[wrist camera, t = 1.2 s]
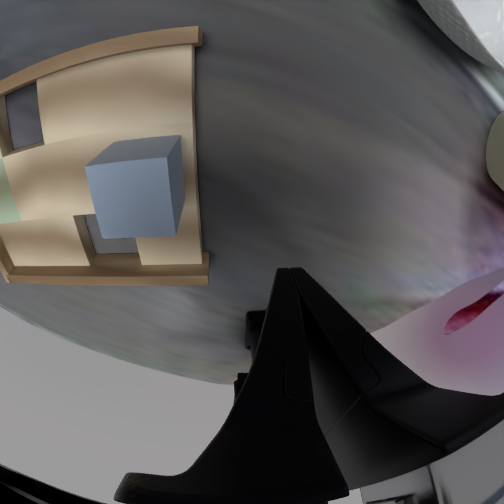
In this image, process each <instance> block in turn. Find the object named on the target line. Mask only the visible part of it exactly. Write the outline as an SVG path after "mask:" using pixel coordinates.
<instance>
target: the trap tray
mask: <svg viewBox="0 0 504 504" xmlns="http://www.w3.org/2000/svg"><path fill="white" fill-rule="evenodd" d="M199 46H203V32H202V30H201V29H200V27H199V26H191V27H179V28H170V29H162V30H155V31H149V32H143V33H137V34H132V35H127V36H122V37H118V38H113V39H109V40H105V41H101V42H97V43H94V44H90V45H87V46H83V47H80V48H77V49H74V50H71V51H68V52H65V53H62V54H59V55H57V56H54V57H51V58H49V59H46V60H44V61H41V62H39V63H37V64H34V65H32V66H30V67H28V68H25V69H23V70H21V71H19V72H17V73H15V74H13V75H11V76H9V77H7V78H5V79H3V80H1V81H0V271H1V273H2V274H3V276H4V278H5V280H6V282H7V283H28V284H55V285H99V286H186V285H208V284H209V263H210V259H209V251H203V246H202V234H201V221H200V208H199V193H198V176H197V156H196V130H195V47H199ZM34 82H37V93H38V103H39V111H40V119H41V126H42V132H43V138H44V141H43V142H39V143H36V144H32V145H29V146H25V147H22V148H19V149H16V150H13V146H12V141H11V136H10V130H9V124H8V117H7V110H6V102H5V95H7V94H9V93H11V92H14V91H16V90H18V89H20V88H22V87H25V86H27V85H30V84H32V83H34ZM171 135H181V147H182V162H183V176H184V188H185V202H184V206H183V210H182V214H181V218H180V222H179V226H178V230H177V234H176V236H163V237H136V238H135V239H136V244H137V248H138V252H139V253H122V254H96V253H95V250H94V248H93V245H92V242H91V238H90V235H89V232H88V229H87V226H86V222H85V219H84V216H83V215H85V214H96V213H95V209H94V206H93V202H92V198H91V193H90V189H89V185H88V180H87V176H86V171H85V166H86V165H87V164H88V163H89V162H90V161H91V160H93V159H94V158H95V157H96V156H97V155H98V154H100V153H101V152H102V151H103V150H104V149H106V148H107V147H108V146H109V145H111V144H112V143H113V142H116V141H123V140H131V139H139V138H148V137H159V136H171Z"/></svg>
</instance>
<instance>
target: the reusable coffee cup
mask: <svg viewBox="0 0 504 504" xmlns="http://www.w3.org/2000/svg"><path fill="white" fill-rule="evenodd" d="M486 165H487V170H488V173H489V175H490V177H491V178H492V180H493V181H494V182H495V183H496V184H497V185H498V186H499V187H500V188H501V189H502V190H503V191H504V111H502V112H501V113H500V114H499V115H498V116H497V118H496V119H495V121H494V122H493V125H492V127H491V129H490V132H489V135H488V140H487V146H486Z"/></svg>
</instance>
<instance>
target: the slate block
mask: <svg viewBox="0 0 504 504" xmlns="http://www.w3.org/2000/svg"><path fill="white" fill-rule="evenodd" d="M85 171H86V176H87V180H88V185H89V189H90V193H91V198H92V202H93V206H94V209H95V213H96V217H97V221H98V224H99V228H100V231H101V235H102V238H103V239H111V238H136V237H163V236H176V234H177V230H178V226H179V222H180V218H181V214H182V210H183V206H184V202H185V188H184V176H183V162H182V147H181V135H171V136H159V137H148V138H139V139H131V140H123V141H116V142H113V143H112V144H111V145H109V146H108V147H107V148H106V149H104V150H103V151H102V152H101V153H100V154H98V155H97V156H96V157H95V158H94V159H93V160H91V161H90V162H89V163H88V164H87V165H86V166H85Z"/></svg>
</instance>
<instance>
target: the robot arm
mask: <svg viewBox="0 0 504 504" xmlns="http://www.w3.org/2000/svg"><path fill="white" fill-rule="evenodd" d="M245 348H246V349H248V350H251V354H252V365H251V368H250V370H249V373H243V372H242V373H238V380H236V381H235V382H234V390H235V397H234V406H233V407H232V409H231V411H230V413H229V416H228V418H227V419H226V421H225V423H224V424H223V426H222V427H221V429H220V431H219V432H218V433H217V435H216V436H215V437H214V438H213V440H212V441H211V442H210V444H209V445H208V446H207V448H206V449H205V450H204V451H203V453H202V454H201V455H200V456H199V458H198V459H197V460H196V461H195V462H194V464H193V465H192V466H191V467H190V468H189V469H188V470H187V471H185V472H183V473H181V474H178V475H175V476H162V475H154V474H145V473H127V474H125V476H124V478H123V480H122V481H121V483H120V485H119V487H118V489H117V490H116V493H115V495H114V500H115V501H118V502H121V503H125V504H328V501H331V500H335V499H339V498H343V497H346V496H349V490H353V489H357V488H360V491H361V496H362V501H363V504H504V393H502V394H500V395H495V396H487V395H478V394H472V393H466V392H459V391H454V390H447V389H442V388H438V387H435V386H433V385H431V384H429V383H427V382H426V381H424V380H423V379H422V378H420V377H419V376H418V375H417V374H415V373H414V372H413V371H412V370H410V369H409V368H408V367H407V366H405V365H404V364H403V363H402V362H401V361H400V360H398V359H397V358H396V357H395V356H394V355H392V354H391V353H390V352H389V351H388V350H387V349H385V348H384V347H383V346H382V345H381V344H380V343H379V342H378V341H377V340H376V339H375V338H374V337H373V336H372V335H371V334H370V333H369V332H368V331H367V332H366V329H365V328H364V327H363V326H362V325H361V324H360V323H359V322H358V321H357V320H356V319H354V318H353V317H352V316H351V315H350V314H349V313H348V312H347V311H346V310H345V309H344V308H343V307H342V306H341V305H340V304H339V303H338V302H337V301H336V300H335V299H334V298H333V297H332V296H331V295H330V294H329V293H328V292H327V291H326V290H325V289H324V288H323V287H322V286H321V285H320V284H318V283H317V282H316V281H315V280H314V279H313V278H312V277H311V276H310V275H309V274H308V273H307V272H306V271H305V270H304V269H303V268H301V267H295V268H290V269H289V268H278V269H277V271H276V275H275V279H274V283H273V287H272V291H271V295H270V299H269V303H268V307H267V311H266V312H250V313H247V314H246V337H245ZM0 504H106V503H102V502H99V501H95V500H92V499H88V498H85V497H82V496H79V495H76V494H72V493H70V492H67V491H64V490H62V489H59V488H56V487H54V486H51V485H49V484H46V483H44V482H41V481H39V480H36V479H34V478H31V477H29V476H27V475H24V474H22V473H20V472H17V471H15V470H13V469H10V468H8V467H6V466H4V465H1V464H0Z"/></svg>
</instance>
